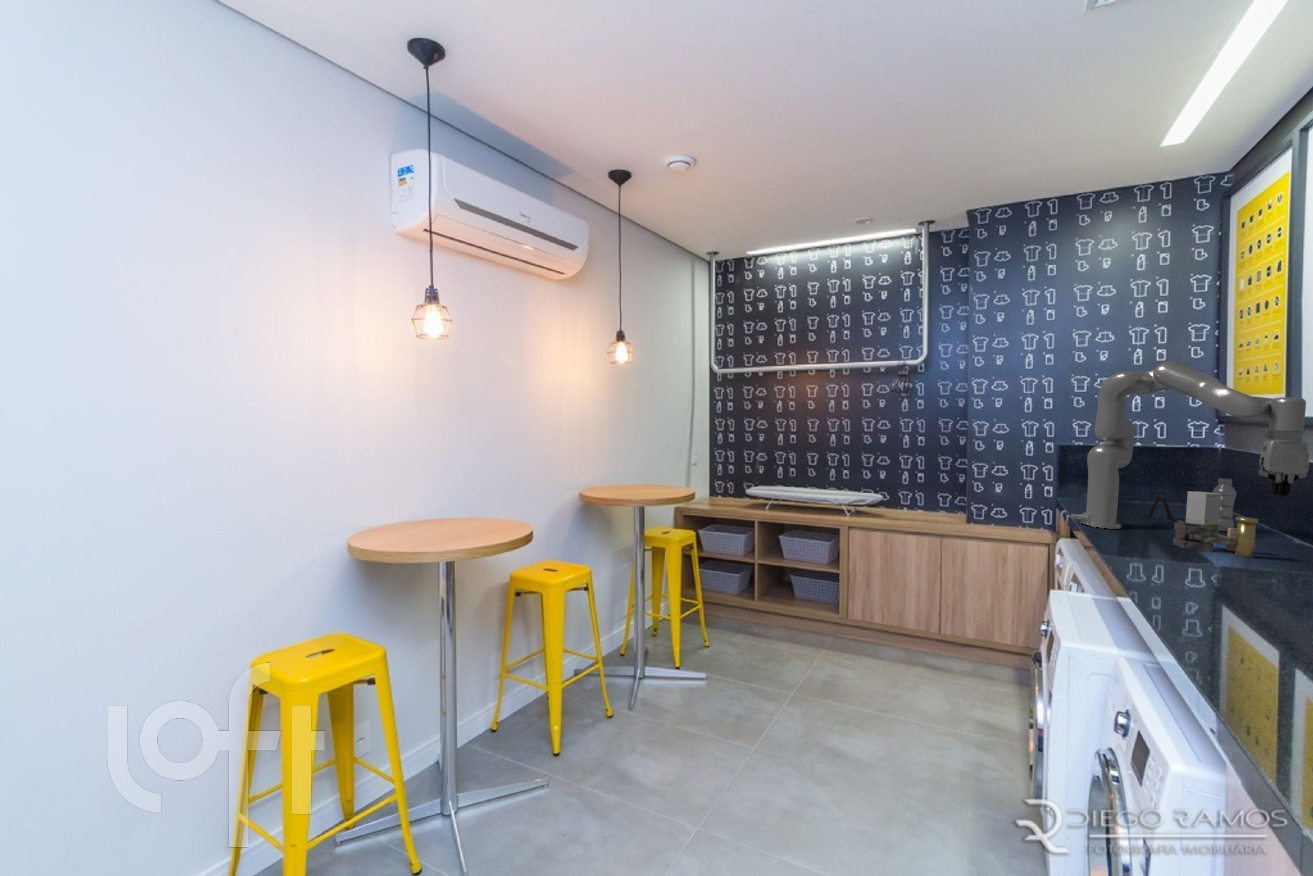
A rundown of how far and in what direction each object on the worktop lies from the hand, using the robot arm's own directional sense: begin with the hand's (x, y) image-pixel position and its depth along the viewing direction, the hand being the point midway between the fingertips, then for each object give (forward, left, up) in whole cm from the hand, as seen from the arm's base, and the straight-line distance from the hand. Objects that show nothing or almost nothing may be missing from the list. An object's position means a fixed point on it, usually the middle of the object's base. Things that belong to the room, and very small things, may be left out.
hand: (1280, 495), depth 186 cm
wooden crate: (-13, 0, -19) cm, 23 cm away
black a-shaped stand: (-7, +62, -19) cm, 65 cm away
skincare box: (-6, +31, -19) cm, 37 cm away
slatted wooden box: (-21, +3, -19) cm, 29 cm away
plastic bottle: (+5, +43, -19) cm, 47 cm away
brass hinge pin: (-11, -7, -19) cm, 23 cm away
